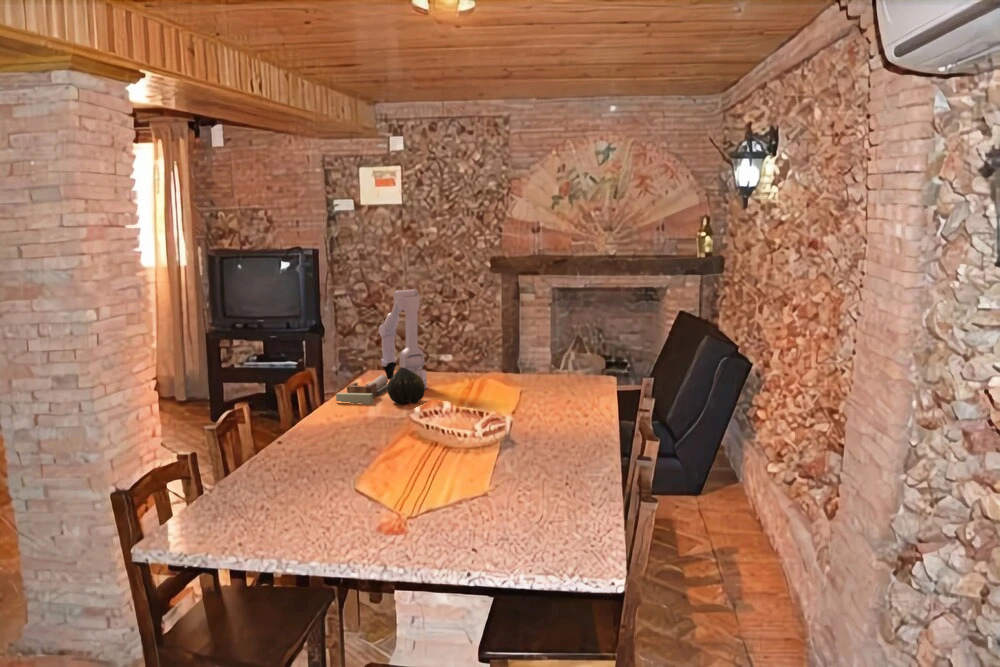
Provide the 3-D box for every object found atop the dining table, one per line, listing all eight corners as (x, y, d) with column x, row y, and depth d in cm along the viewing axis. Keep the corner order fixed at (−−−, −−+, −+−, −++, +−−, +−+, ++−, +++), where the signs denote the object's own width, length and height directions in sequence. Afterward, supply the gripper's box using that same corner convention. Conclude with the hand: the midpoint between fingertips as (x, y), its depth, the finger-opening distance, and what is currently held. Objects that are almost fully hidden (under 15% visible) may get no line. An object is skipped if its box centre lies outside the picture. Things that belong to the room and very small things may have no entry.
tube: (376, 375, 353) (361, 386, 328) (386, 371, 352) (372, 382, 327) (380, 386, 353) (365, 398, 329) (391, 382, 352) (377, 394, 328)
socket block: (377, 396, 327) (376, 382, 326) (370, 401, 319) (369, 387, 318) (355, 396, 329) (354, 382, 328) (347, 400, 321) (346, 386, 320)
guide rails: (397, 384, 351) (397, 379, 351) (378, 396, 327) (378, 391, 327) (376, 383, 353) (375, 379, 353) (355, 395, 330) (355, 391, 329)
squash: (417, 395, 303) (421, 362, 312) (380, 396, 306) (385, 363, 314) (425, 411, 315) (429, 379, 323) (390, 412, 317) (395, 381, 326)
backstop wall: (373, 402, 315) (372, 393, 315) (370, 404, 313) (370, 394, 312) (339, 402, 319) (338, 392, 318) (336, 403, 316) (336, 394, 316)
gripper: (386, 347, 362) (387, 375, 364) (374, 352, 348) (376, 382, 350) (400, 347, 361) (401, 375, 363) (389, 352, 347) (390, 382, 349)
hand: (390, 378), depth 356 cm, fingers closed
